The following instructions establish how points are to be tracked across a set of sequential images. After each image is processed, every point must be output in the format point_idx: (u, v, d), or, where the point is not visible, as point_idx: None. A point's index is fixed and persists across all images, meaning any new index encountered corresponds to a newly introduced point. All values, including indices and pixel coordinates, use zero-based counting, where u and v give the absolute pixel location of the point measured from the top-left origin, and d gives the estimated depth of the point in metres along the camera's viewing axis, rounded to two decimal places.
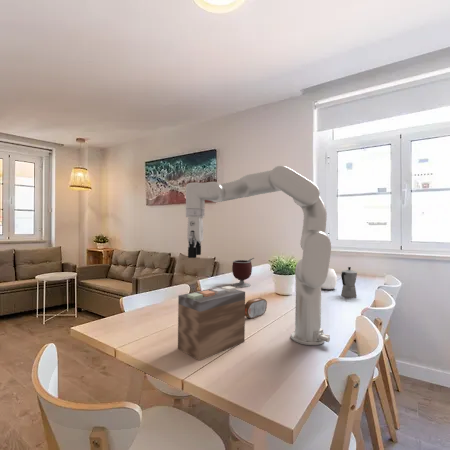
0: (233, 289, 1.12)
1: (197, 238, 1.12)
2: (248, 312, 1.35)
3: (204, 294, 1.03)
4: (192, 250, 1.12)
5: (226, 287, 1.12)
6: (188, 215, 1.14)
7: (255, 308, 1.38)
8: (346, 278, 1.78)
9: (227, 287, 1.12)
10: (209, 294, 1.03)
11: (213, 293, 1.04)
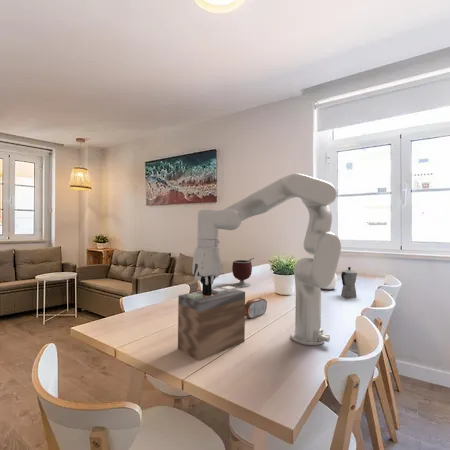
0: (233, 289, 1.12)
1: None
2: (248, 312, 1.35)
3: None
4: None
5: (226, 287, 1.12)
6: None
7: (255, 308, 1.38)
8: (346, 278, 1.78)
9: (227, 287, 1.12)
10: None
11: None
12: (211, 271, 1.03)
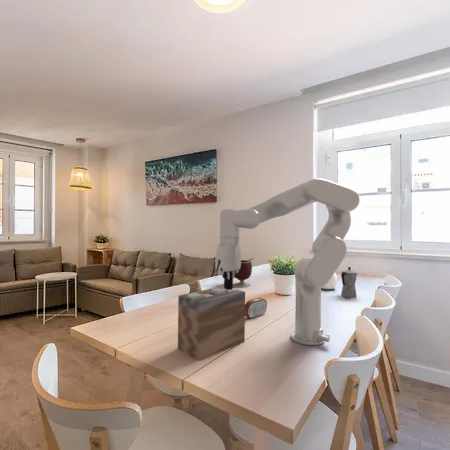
0: None
1: None
2: (248, 312, 1.35)
3: None
4: None
5: (226, 289, 1.12)
6: None
7: (255, 308, 1.38)
8: (346, 278, 1.78)
9: (227, 289, 1.12)
10: None
11: None
12: (233, 267, 1.11)
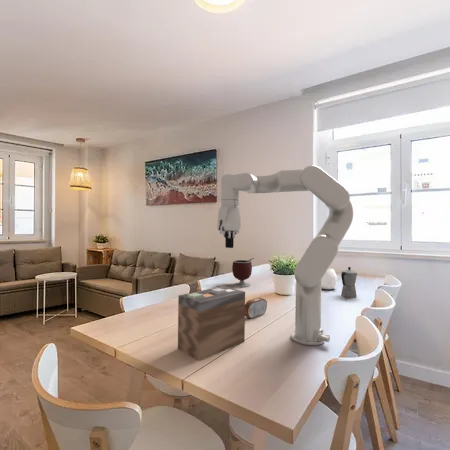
0: None
1: None
2: (248, 312, 1.35)
3: None
4: None
5: (226, 290, 1.12)
6: None
7: (255, 308, 1.38)
8: (346, 278, 1.78)
9: (227, 290, 1.12)
10: None
11: None
12: (233, 227, 1.22)
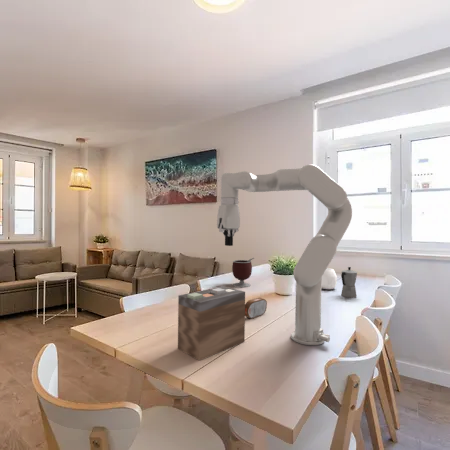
0: None
1: None
2: (248, 312, 1.35)
3: None
4: None
5: (226, 290, 1.12)
6: None
7: (255, 308, 1.38)
8: (346, 278, 1.78)
9: (227, 290, 1.12)
10: None
11: None
12: (232, 225, 1.23)
